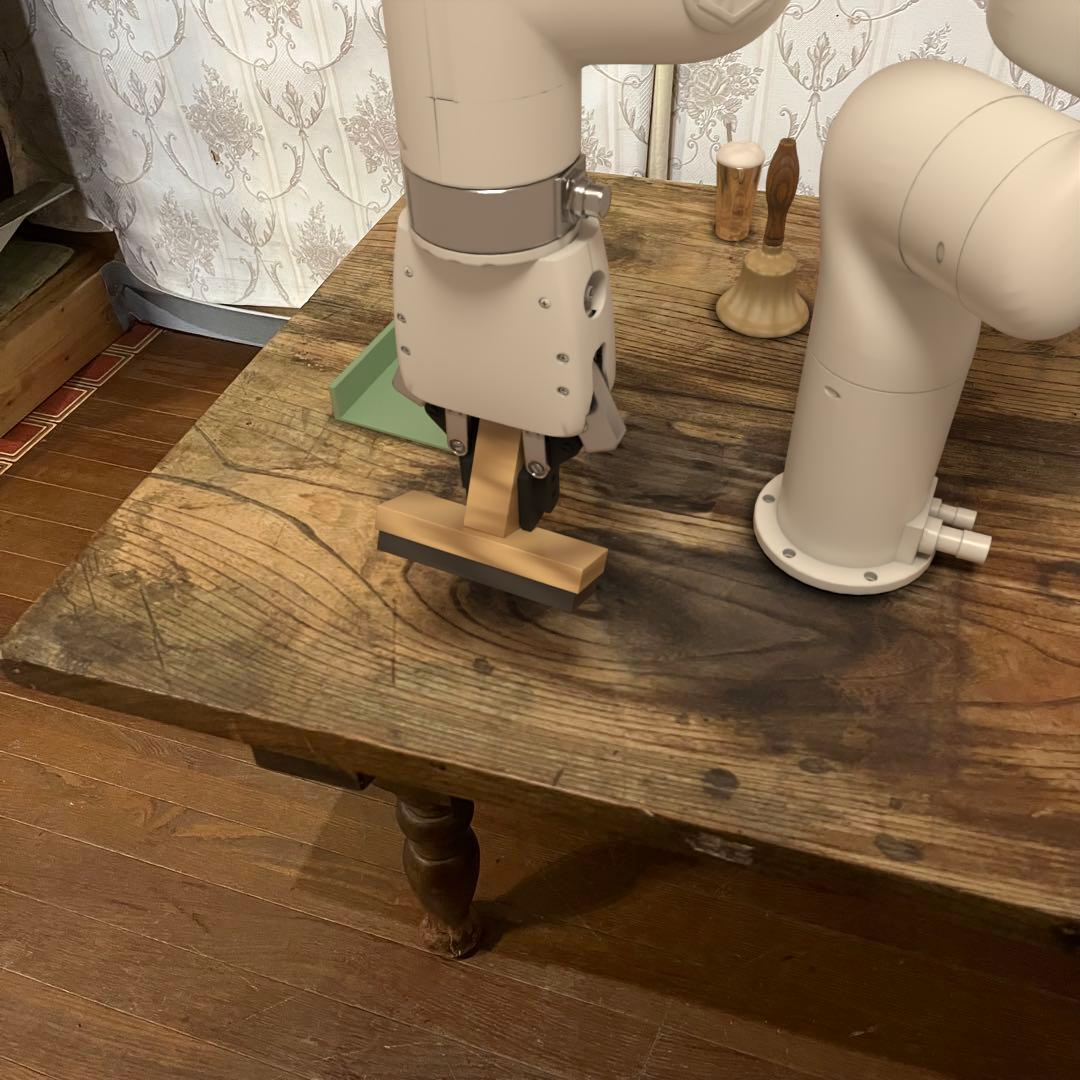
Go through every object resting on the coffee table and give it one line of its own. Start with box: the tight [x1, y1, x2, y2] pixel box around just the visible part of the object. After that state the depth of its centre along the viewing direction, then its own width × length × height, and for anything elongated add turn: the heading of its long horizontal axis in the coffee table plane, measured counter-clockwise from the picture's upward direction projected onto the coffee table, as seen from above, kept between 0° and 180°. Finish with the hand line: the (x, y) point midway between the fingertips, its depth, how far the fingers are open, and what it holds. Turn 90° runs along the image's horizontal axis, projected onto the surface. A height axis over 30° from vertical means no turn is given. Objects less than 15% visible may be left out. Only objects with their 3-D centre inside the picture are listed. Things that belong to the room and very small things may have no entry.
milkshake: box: [715, 121, 766, 242], centre depth 100 cm, size 5×5×10 cm
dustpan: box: [327, 319, 453, 453], centre depth 87 cm, size 22×17×3 cm
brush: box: [374, 418, 609, 614], centre depth 55 cm, size 12×4×9 cm, turn 65°
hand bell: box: [715, 137, 810, 339], centre depth 88 cm, size 8×8×16 cm
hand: (511, 504), depth 57 cm, fingers closed on brush, 2 cm apart
